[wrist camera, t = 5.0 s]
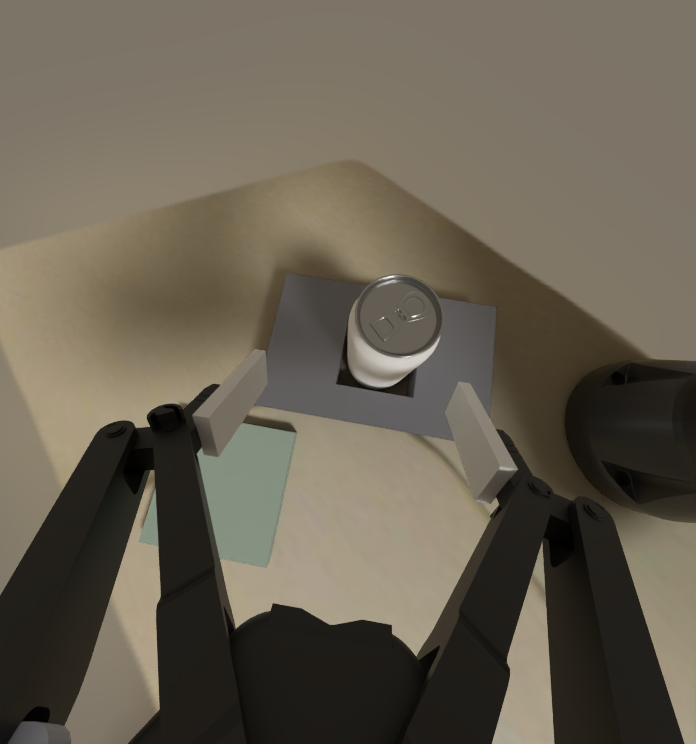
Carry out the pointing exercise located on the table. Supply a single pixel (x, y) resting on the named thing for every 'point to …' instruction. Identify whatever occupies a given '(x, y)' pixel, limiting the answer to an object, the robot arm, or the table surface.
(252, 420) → the table surface
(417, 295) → the can
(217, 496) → the mat
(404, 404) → the block
